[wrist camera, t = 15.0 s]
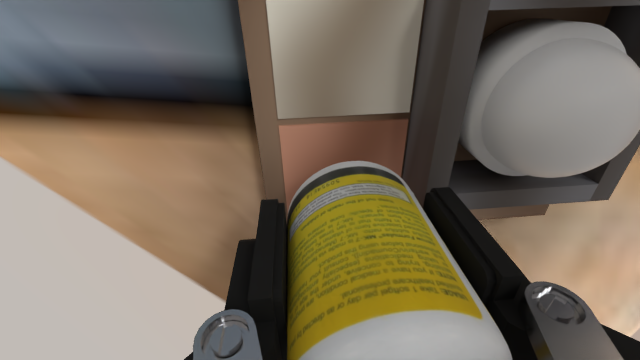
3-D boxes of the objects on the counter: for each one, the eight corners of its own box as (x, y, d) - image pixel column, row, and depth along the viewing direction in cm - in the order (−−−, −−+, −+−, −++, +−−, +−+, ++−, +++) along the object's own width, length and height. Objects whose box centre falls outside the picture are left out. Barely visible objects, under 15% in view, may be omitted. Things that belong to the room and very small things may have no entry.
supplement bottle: (260, 211, 11) (207, 599, 4) (362, 129, 10) (560, 484, 3) (341, 275, 13) (402, 604, 6) (434, 214, 12) (654, 541, 5)
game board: (746, -336, 8) (1051, -558, 5) (529, 201, 17) (584, 249, 14) (195, -355, 7) (117, -635, 4) (272, 219, 16) (268, 274, 13)
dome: (602, 15, 11) (770, 26, 7) (548, 149, 13) (648, 208, 10) (459, 20, 10) (554, 34, 7) (433, 156, 13) (490, 220, 9)
